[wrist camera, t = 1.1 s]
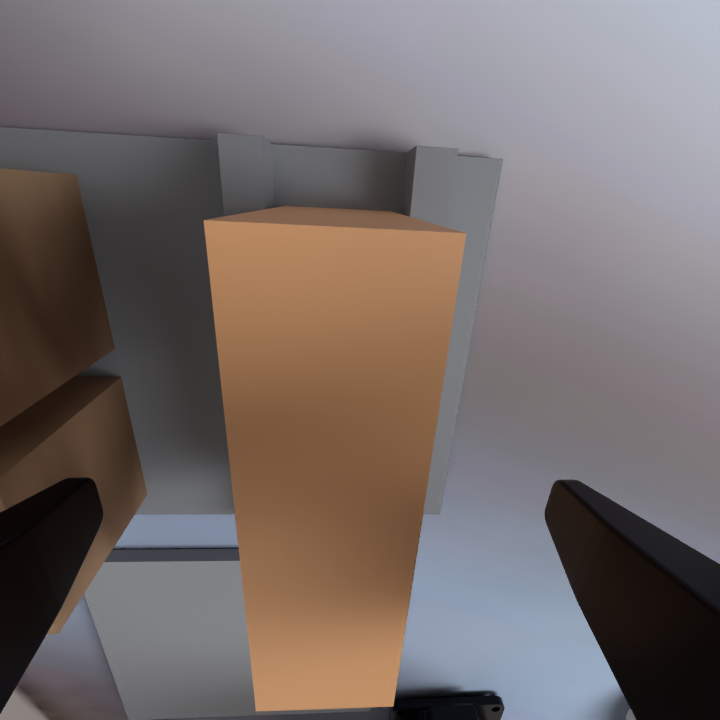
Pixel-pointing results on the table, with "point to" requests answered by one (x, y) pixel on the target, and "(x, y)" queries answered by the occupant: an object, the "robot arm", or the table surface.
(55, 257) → the offcut
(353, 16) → the table surface
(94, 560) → the offcut
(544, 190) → the table surface
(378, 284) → the light brown flat block
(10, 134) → the rack
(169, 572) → the mat
